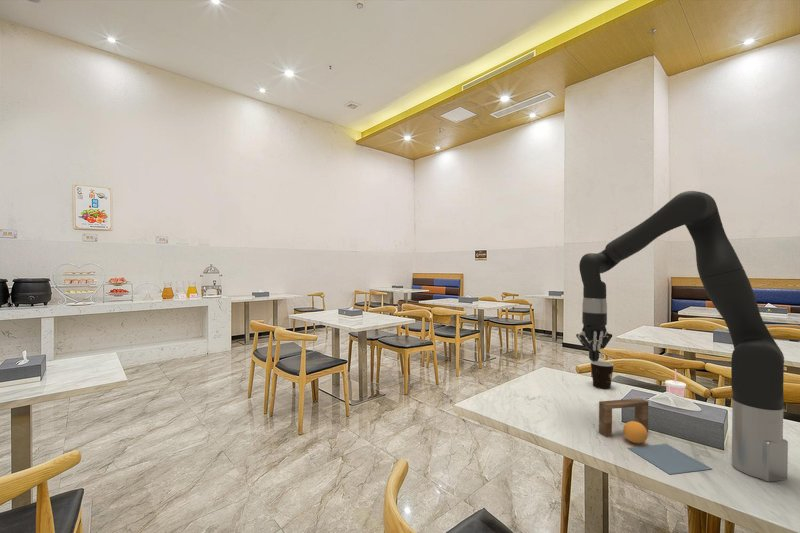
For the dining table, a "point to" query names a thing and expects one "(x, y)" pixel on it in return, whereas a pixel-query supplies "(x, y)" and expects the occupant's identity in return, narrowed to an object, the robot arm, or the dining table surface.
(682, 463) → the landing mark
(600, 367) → the coffee mug
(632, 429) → the ball
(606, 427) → the bridge
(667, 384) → the beverage cup
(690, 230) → the robot arm
